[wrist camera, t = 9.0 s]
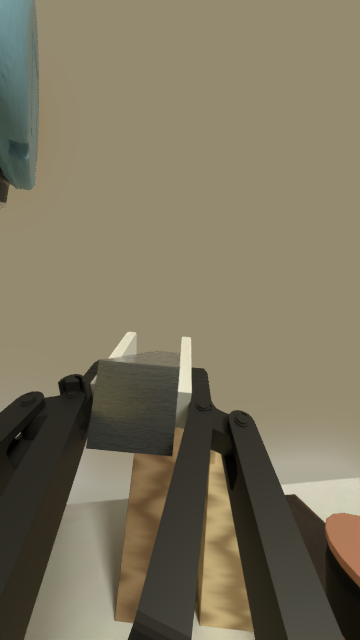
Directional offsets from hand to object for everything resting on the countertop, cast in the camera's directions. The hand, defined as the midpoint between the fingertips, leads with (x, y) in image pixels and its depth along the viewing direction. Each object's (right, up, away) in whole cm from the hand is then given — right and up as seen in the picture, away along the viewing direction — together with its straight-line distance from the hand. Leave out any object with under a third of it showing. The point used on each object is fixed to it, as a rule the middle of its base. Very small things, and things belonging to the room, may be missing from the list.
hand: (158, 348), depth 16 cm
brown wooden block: (-3, -39, +14) cm, 42 cm away
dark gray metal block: (0, -5, +3) cm, 6 cm away
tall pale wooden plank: (+9, -40, +15) cm, 44 cm away
